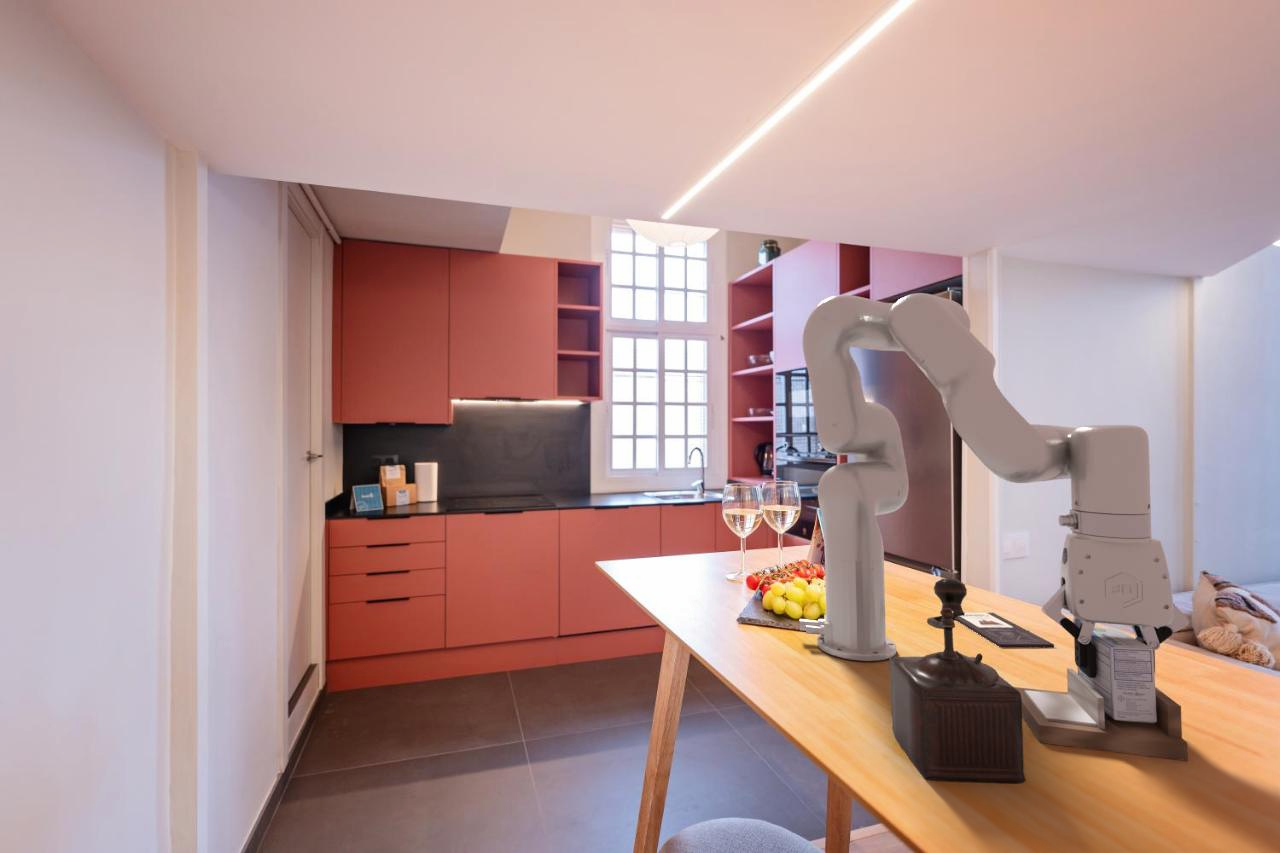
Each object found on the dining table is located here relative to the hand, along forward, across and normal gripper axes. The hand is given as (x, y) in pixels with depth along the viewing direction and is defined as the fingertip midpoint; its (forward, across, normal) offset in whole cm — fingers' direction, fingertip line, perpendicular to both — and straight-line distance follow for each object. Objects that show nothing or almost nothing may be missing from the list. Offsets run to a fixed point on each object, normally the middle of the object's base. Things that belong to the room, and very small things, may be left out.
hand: (1114, 674), depth 71 cm
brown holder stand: (+7, -3, 0) cm, 7 cm away
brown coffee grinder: (+7, -20, -9) cm, 23 cm away
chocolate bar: (+7, -4, +38) cm, 39 cm away
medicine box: (+4, 0, 0) cm, 4 cm away
